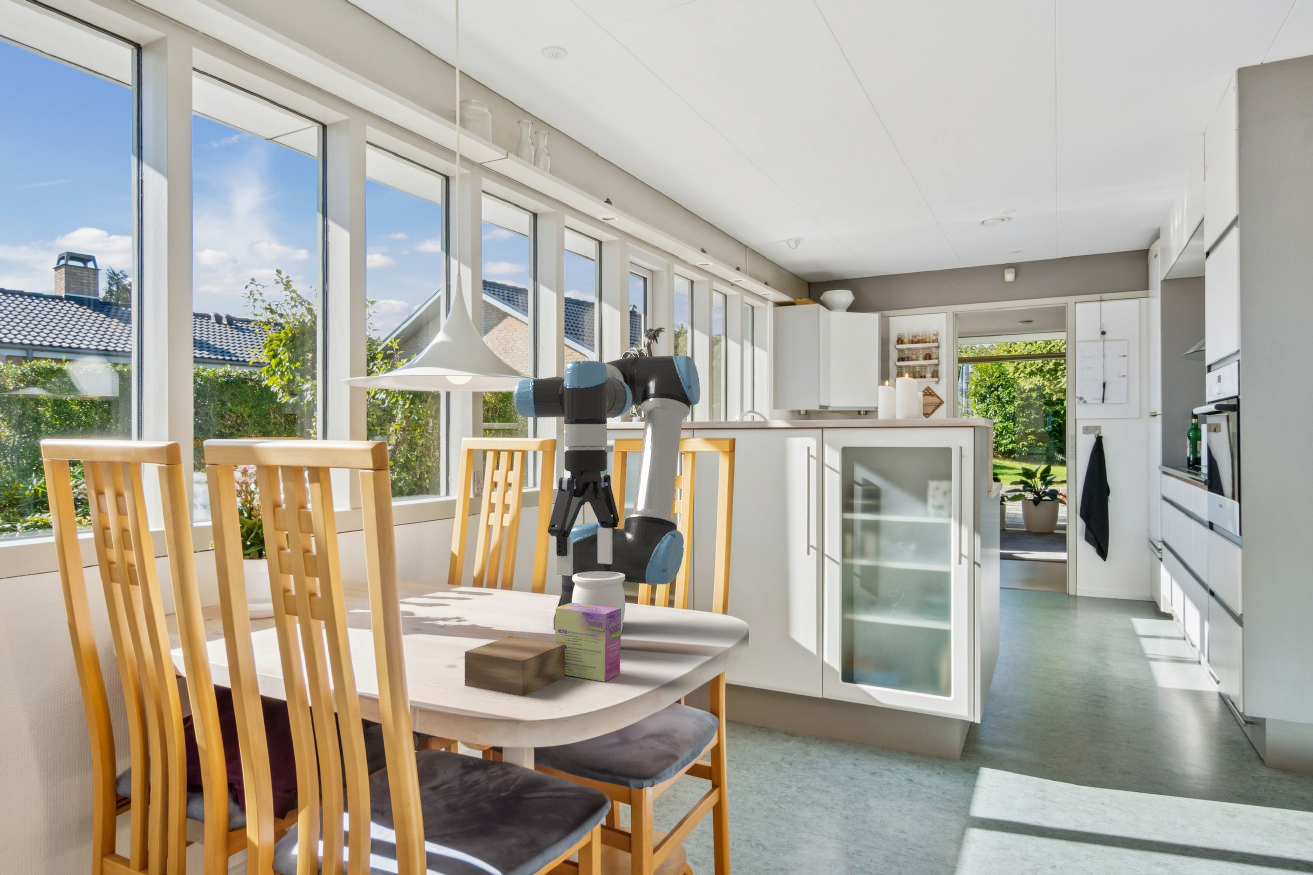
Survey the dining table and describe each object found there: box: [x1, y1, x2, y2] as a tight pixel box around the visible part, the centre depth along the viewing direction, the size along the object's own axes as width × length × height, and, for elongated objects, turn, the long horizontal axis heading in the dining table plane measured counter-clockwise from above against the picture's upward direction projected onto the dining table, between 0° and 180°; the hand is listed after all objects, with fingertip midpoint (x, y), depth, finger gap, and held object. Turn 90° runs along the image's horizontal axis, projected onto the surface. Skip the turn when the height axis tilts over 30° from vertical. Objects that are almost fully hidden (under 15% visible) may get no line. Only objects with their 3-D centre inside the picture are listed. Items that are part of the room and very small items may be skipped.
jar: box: [572, 571, 626, 633], centre depth 153 cm, size 11×10×15 cm
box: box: [554, 603, 622, 683], centre depth 137 cm, size 10×6×12 cm, turn 64°
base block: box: [464, 635, 566, 697], centre depth 133 cm, size 12×12×6 cm
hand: (585, 569), depth 137 cm, fingers open, 13 cm apart
